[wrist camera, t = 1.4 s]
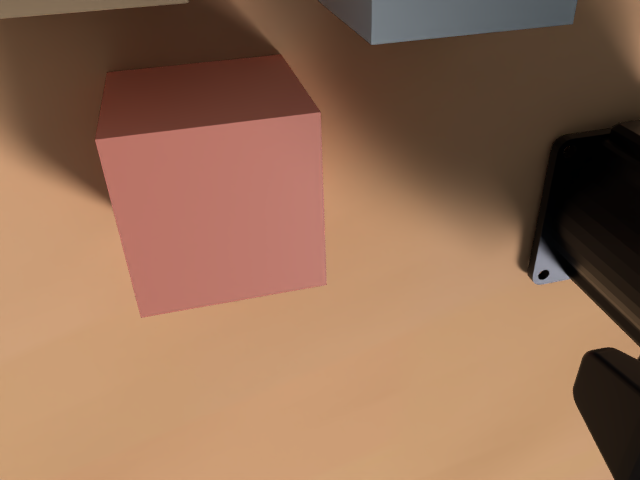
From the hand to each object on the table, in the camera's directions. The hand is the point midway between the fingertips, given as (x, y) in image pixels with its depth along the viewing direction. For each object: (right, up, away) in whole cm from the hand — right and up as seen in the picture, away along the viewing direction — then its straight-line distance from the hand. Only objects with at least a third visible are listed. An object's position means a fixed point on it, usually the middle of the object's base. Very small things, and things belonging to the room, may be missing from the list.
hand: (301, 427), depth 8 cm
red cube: (-3, +6, +10) cm, 12 cm away
